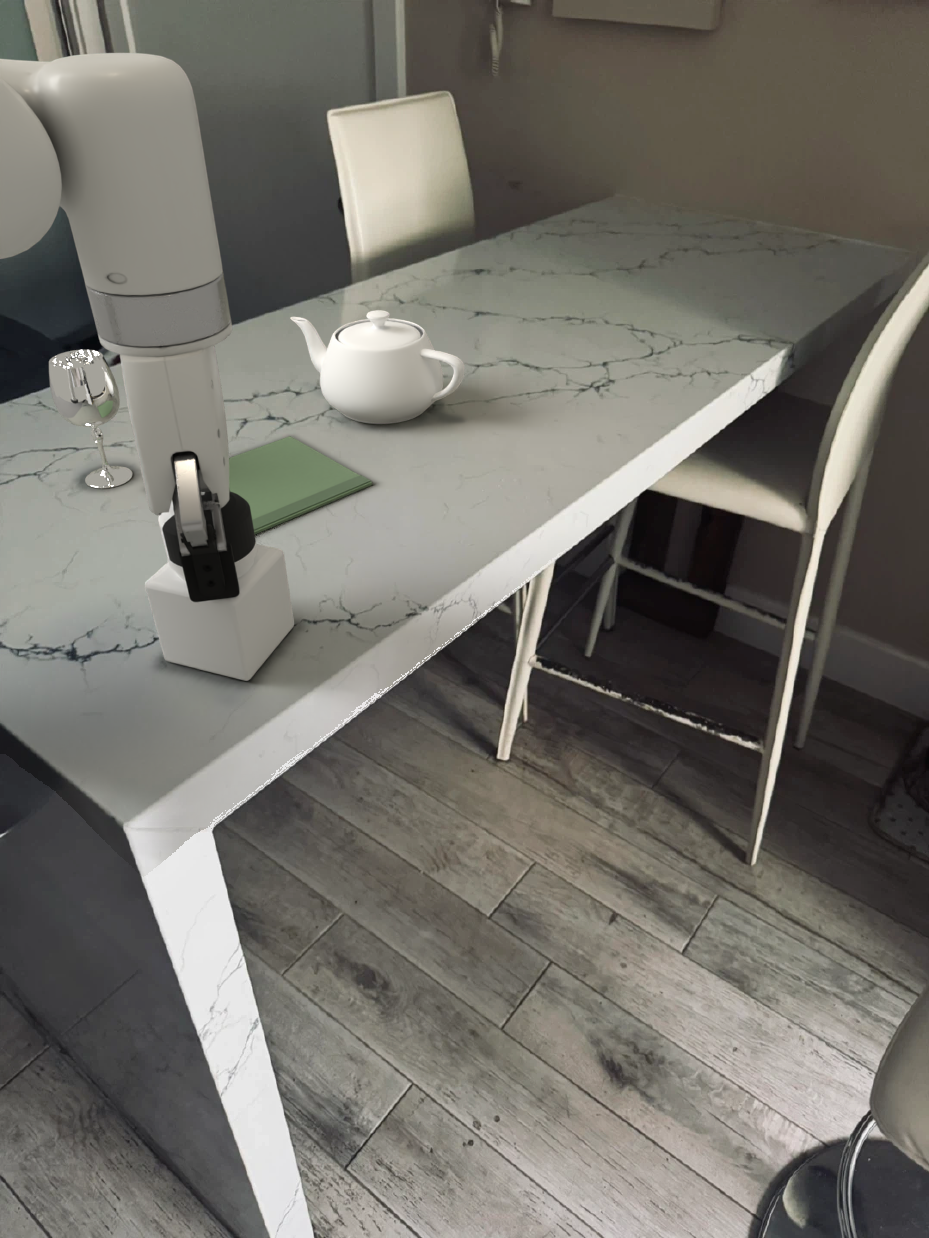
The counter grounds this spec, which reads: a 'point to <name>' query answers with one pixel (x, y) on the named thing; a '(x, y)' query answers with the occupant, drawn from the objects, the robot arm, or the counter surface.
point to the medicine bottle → (222, 601)
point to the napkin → (288, 481)
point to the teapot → (380, 368)
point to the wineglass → (88, 404)
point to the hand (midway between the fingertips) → (214, 562)
